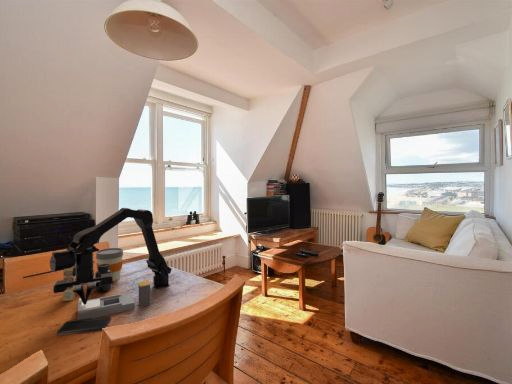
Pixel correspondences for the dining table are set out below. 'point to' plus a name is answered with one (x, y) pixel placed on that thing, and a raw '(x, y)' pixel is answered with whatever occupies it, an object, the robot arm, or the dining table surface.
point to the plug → (144, 293)
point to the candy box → (68, 274)
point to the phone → (84, 325)
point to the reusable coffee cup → (111, 260)
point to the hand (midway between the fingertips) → (85, 303)
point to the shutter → (88, 304)
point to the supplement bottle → (101, 270)
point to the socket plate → (109, 306)
